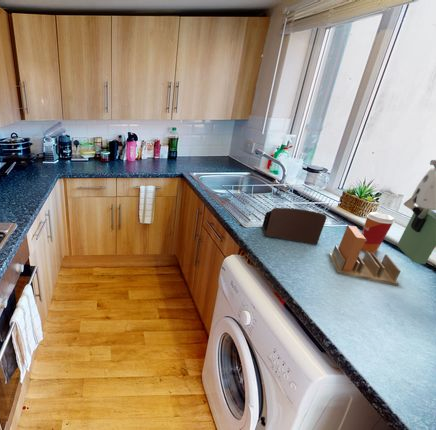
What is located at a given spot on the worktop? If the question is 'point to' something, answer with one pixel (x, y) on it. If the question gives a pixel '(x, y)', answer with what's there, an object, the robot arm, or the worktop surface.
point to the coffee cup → (375, 230)
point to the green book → (419, 239)
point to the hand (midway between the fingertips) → (423, 230)
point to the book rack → (368, 267)
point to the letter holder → (294, 224)
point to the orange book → (351, 246)
